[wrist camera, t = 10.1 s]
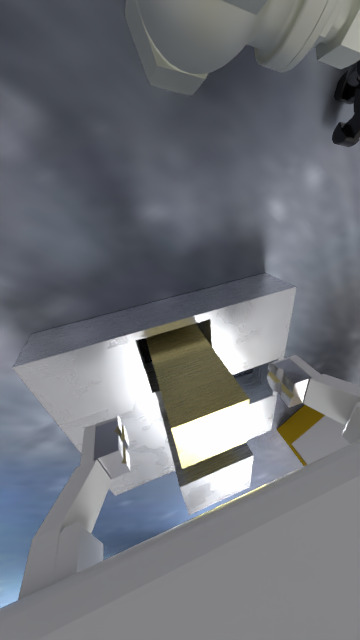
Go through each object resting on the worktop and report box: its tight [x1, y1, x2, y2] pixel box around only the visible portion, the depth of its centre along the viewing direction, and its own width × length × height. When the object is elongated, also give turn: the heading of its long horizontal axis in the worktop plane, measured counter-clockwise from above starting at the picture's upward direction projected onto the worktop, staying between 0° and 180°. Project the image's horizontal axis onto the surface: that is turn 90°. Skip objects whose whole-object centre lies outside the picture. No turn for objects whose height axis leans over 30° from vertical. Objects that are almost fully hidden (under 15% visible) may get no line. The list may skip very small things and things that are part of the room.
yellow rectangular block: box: [146, 324, 250, 469], centre depth 12 cm, size 3×3×8 cm
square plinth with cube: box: [12, 273, 296, 515], centre depth 15 cm, size 16×16×8 cm
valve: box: [125, 0, 360, 147], centre depth 7 cm, size 7×7×12 cm
